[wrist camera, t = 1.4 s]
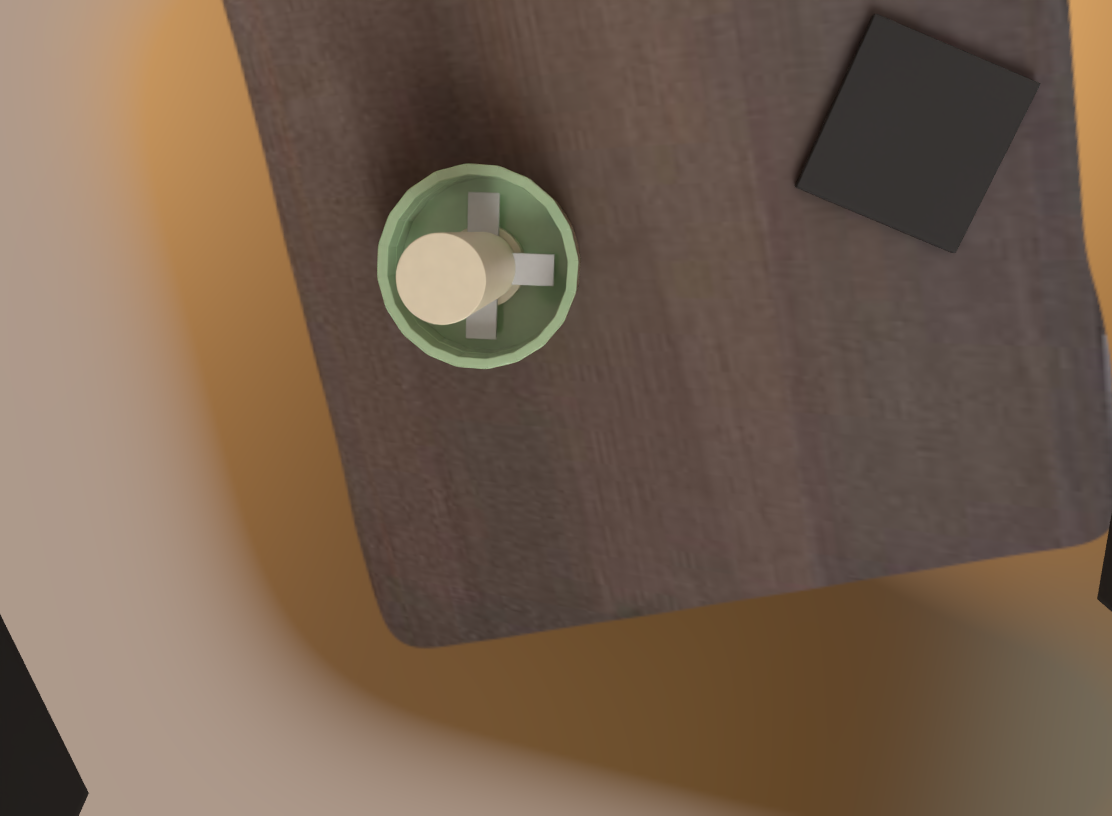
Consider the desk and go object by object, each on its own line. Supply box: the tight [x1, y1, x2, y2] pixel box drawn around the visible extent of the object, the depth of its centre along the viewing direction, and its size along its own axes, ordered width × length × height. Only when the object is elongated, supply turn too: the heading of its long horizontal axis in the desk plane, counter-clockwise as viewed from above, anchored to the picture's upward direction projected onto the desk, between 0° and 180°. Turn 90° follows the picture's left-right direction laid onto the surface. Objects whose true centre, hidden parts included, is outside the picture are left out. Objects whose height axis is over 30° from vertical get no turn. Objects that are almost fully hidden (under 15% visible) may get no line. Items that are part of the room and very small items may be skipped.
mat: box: [795, 14, 1040, 253], centre depth 49 cm, size 10×10×1 cm
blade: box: [396, 192, 555, 340], centre depth 45 cm, size 8×8×14 cm
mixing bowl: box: [377, 163, 581, 369], centre depth 50 cm, size 11×11×4 cm
